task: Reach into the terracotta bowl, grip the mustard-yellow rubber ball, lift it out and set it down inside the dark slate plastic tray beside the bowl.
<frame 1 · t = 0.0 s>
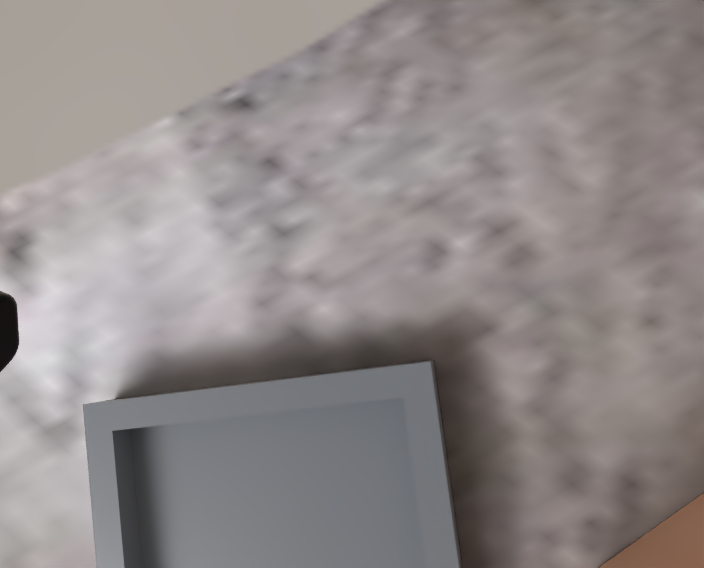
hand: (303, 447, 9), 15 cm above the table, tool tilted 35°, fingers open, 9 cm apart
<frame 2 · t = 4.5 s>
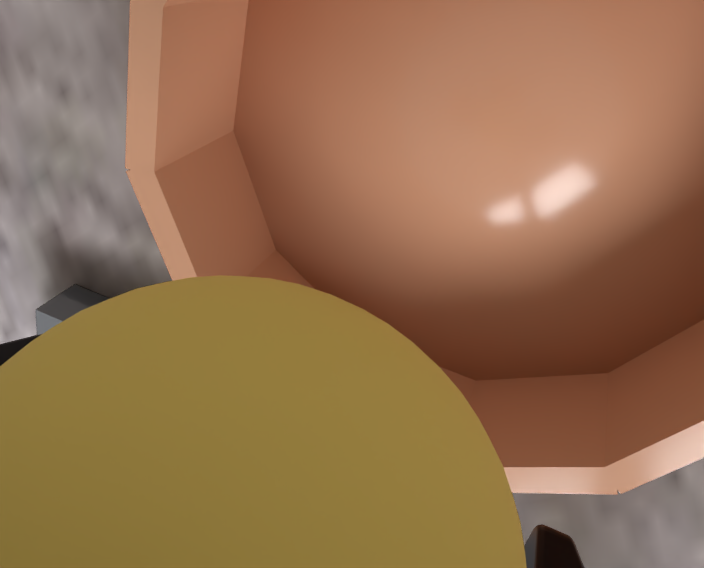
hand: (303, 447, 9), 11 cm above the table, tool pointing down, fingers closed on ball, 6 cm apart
tray: (245, 478, 27), on the table
ball: (227, 566, 7), point 13 cm above the table, touching gripper
bowl: (491, 137, 17), on the table
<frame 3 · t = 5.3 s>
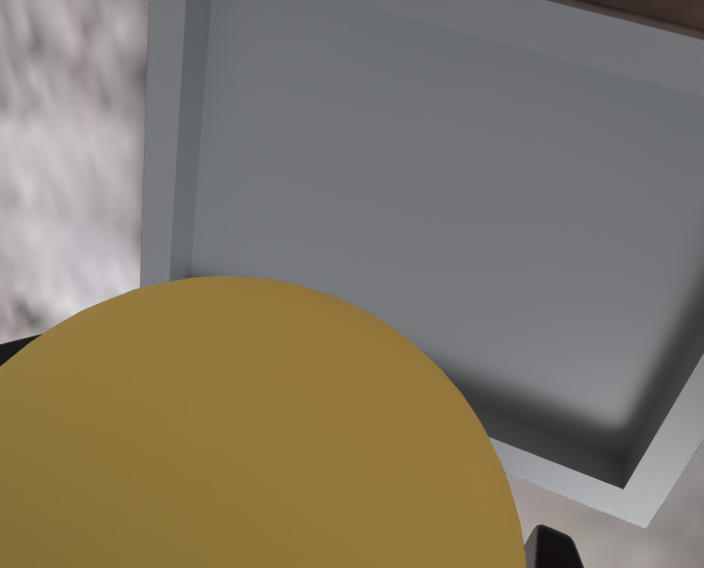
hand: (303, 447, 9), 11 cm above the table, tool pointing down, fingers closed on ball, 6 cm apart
tray: (439, 215, 18), on the table
ball: (227, 567, 7), point 13 cm above the table, touching gripper
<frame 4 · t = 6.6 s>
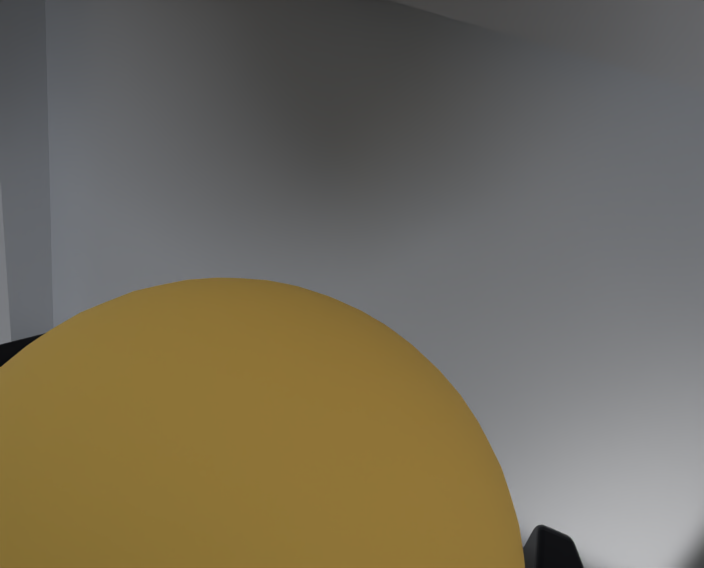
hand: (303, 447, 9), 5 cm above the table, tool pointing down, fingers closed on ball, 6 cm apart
tray: (397, 287, 12), on the table
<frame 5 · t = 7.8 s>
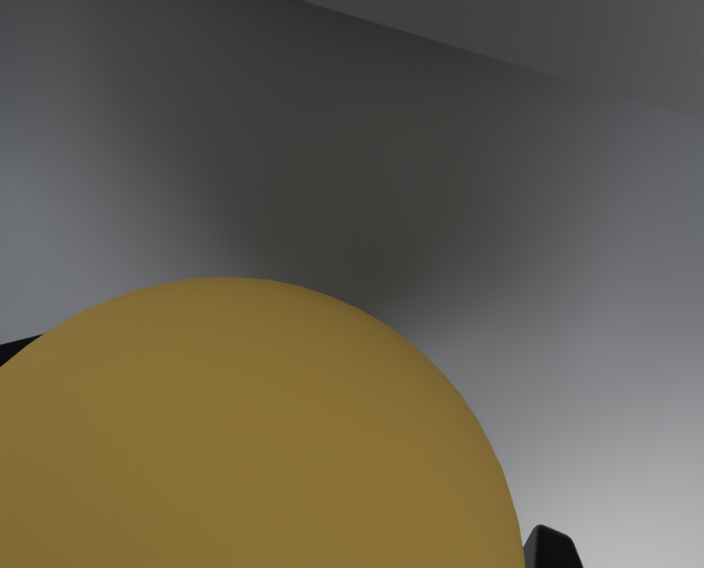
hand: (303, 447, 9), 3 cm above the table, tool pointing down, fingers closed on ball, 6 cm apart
tray: (373, 330, 11), on the table
ball: (226, 567, 7), point 5 cm above the table, touching gripper
when the fingers open (3 cm above the table, at t = 7.8 s): ball drops 1 cm, resting on tray.
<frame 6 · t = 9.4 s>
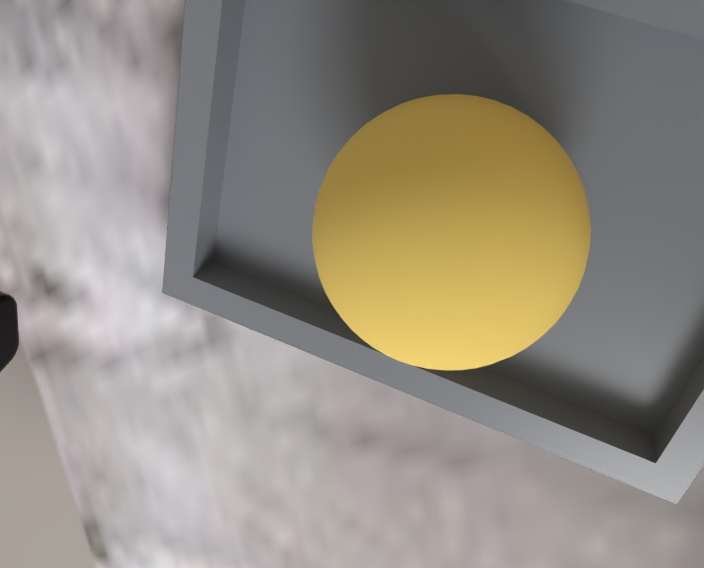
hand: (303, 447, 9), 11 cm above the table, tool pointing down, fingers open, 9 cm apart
tray: (475, 181, 18), on the table
ball: (447, 234, 15), point 4 cm above the table, touching tray
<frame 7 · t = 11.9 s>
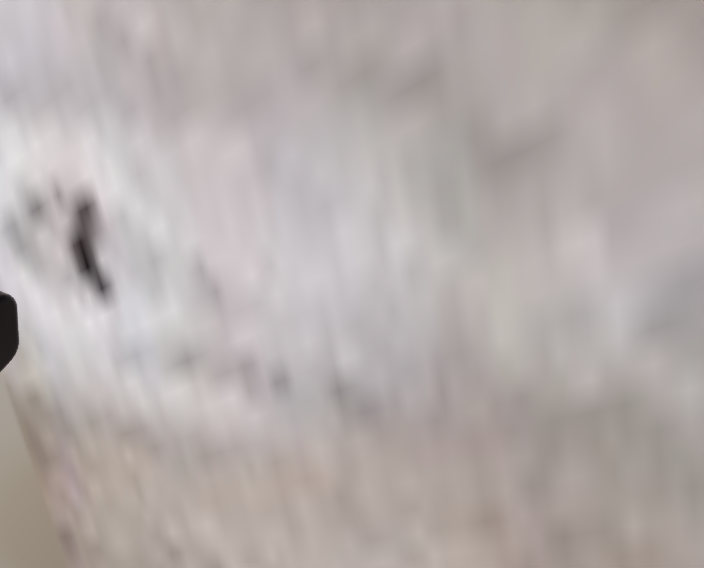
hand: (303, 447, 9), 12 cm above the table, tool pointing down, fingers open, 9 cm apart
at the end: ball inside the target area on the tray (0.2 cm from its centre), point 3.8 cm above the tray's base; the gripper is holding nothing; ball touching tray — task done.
